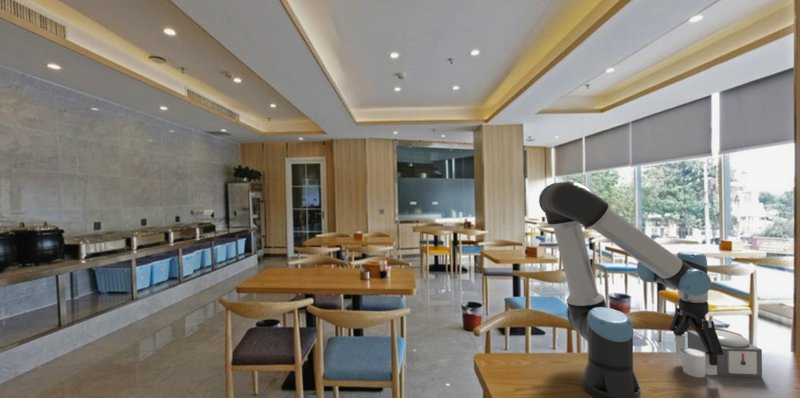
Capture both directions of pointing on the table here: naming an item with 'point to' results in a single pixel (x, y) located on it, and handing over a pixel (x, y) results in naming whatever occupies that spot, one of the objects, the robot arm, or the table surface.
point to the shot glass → (693, 362)
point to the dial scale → (732, 354)
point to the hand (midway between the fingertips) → (695, 363)
